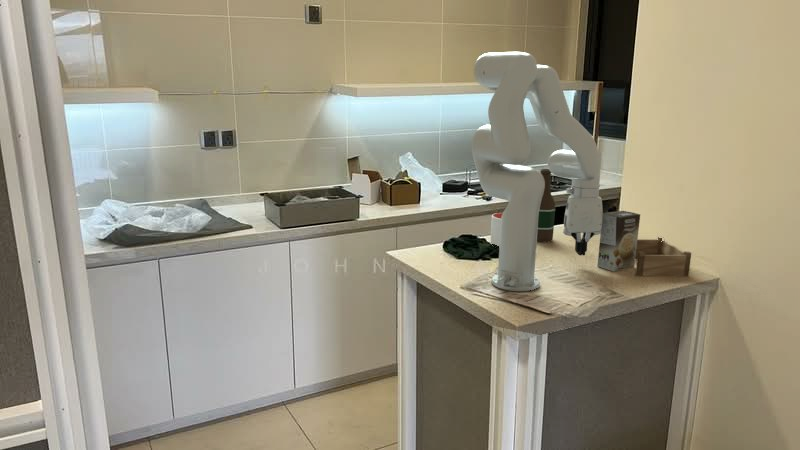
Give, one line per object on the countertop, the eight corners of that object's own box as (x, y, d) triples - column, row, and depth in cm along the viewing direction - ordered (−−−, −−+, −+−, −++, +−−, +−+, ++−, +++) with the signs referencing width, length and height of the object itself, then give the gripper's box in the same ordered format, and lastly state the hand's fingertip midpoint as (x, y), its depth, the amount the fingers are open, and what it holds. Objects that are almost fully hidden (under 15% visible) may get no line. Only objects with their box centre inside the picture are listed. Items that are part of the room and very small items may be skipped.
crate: (688, 276, 177) (691, 252, 176) (637, 276, 176) (640, 252, 175) (659, 258, 194) (662, 236, 193) (613, 258, 194) (615, 236, 192)
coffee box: (614, 272, 180) (619, 217, 176) (596, 266, 185) (601, 213, 181) (635, 267, 185) (641, 213, 181) (617, 261, 190) (622, 209, 186)
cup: (488, 241, 210) (489, 212, 208) (518, 242, 210) (519, 213, 208) (492, 250, 201) (494, 219, 198) (524, 250, 201) (526, 219, 198)
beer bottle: (527, 240, 212) (531, 170, 206) (531, 235, 219) (536, 167, 213) (550, 243, 209) (556, 171, 204) (554, 238, 216) (559, 168, 211)
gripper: (562, 195, 175) (559, 258, 180) (615, 194, 176) (610, 257, 181) (555, 190, 182) (551, 250, 187) (605, 189, 183) (601, 249, 188)
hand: (580, 253), depth 184 cm, fingers closed
